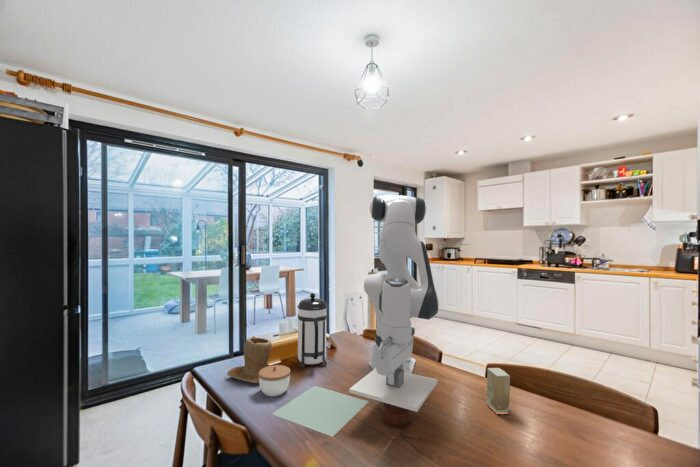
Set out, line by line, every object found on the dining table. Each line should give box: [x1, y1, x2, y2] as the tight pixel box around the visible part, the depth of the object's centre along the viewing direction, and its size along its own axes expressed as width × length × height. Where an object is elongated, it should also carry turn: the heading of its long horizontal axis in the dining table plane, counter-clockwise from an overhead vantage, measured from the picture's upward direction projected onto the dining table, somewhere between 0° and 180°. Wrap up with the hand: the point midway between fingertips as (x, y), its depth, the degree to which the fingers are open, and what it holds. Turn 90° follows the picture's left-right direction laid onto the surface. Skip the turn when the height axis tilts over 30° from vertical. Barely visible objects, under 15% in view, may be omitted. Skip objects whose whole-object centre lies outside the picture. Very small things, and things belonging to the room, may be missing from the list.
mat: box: [271, 385, 370, 438], centre depth 102 cm, size 22×22×1 cm
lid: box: [348, 368, 439, 413], centre depth 96 cm, size 20×20×5 cm
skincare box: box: [486, 367, 511, 412], centre depth 102 cm, size 6×4×12 cm
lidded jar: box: [258, 364, 291, 397], centre depth 112 cm, size 11×11×9 cm
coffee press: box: [297, 293, 328, 369], centre depth 138 cm, size 17×16×30 cm
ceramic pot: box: [380, 402, 412, 441], centre depth 95 cm, size 18×18×7 cm
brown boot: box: [226, 336, 272, 384], centre depth 124 cm, size 15×12×15 cm
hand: (395, 380), depth 96 cm, fingers closed on lid, 4 cm apart
